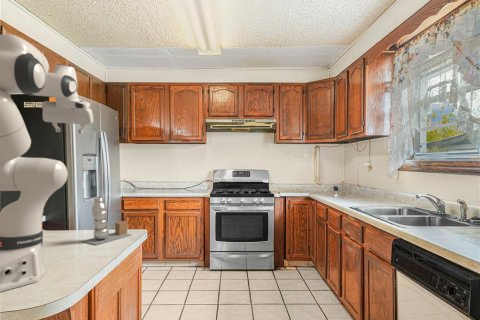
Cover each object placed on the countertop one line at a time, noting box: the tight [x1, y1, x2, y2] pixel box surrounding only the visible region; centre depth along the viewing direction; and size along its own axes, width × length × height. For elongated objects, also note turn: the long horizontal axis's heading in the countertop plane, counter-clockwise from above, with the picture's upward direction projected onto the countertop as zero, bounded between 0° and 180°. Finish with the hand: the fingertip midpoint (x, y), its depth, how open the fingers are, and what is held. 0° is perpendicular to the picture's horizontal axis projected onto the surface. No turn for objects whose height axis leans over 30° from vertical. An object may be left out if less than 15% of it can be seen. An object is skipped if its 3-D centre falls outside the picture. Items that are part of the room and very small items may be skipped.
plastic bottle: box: [91, 196, 110, 240], centre depth 133 cm, size 6×7×20 cm
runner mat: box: [81, 220, 132, 246], centre depth 137 cm, size 20×10×6 cm, turn 154°
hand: (69, 132), depth 130 cm, fingers open, 8 cm apart
